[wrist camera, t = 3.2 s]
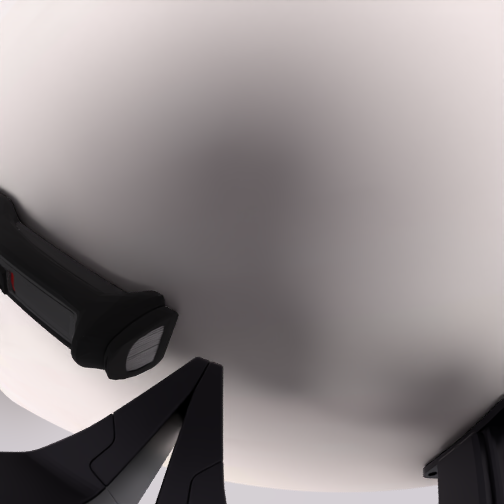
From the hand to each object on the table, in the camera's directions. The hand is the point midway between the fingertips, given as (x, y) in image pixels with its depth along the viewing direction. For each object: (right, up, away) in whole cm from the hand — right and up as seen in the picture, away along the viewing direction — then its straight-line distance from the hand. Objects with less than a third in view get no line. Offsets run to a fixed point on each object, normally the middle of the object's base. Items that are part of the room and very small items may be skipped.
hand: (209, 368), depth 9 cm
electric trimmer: (-8, +4, +3) cm, 9 cm away
